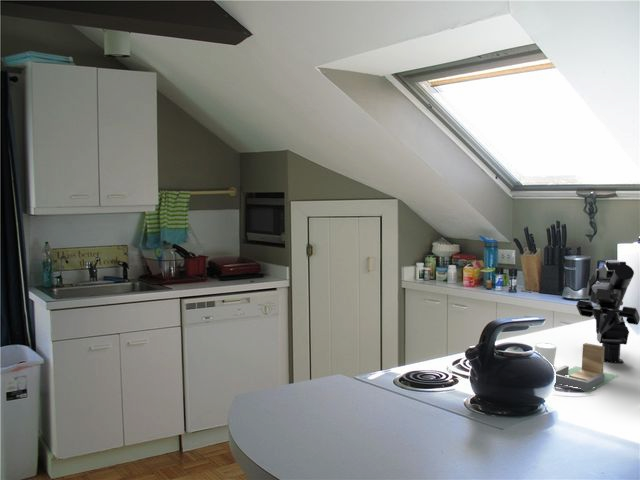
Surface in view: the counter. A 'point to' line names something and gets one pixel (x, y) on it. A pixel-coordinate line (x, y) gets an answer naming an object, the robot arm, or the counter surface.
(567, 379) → the pocket
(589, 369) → the bookend
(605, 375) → the mat
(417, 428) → the counter surface
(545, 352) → the white cup
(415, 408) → the counter surface
